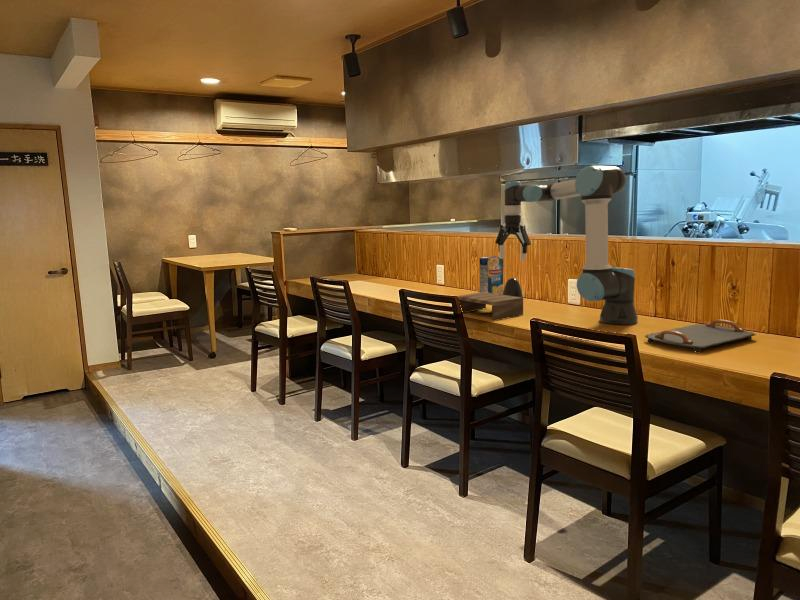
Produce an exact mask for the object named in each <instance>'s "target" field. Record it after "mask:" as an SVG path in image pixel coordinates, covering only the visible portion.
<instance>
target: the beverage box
mask: <svg viewBox="0 0 800 600" xmlns="http://www.w3.org/2000/svg"><path fill="white" fill-rule="evenodd" d="M503 291H504V259H499V256H486V257H485V256H483V257H479V292H487V293H494V294H501V295H503Z"/></svg>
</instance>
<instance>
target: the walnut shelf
mask: <svg viewBox="0 0 800 600" xmlns="http://www.w3.org/2000/svg"><path fill="white" fill-rule="evenodd" d="M456 296H457V297H458V298H459V302H460V305H461V308H462V311H463V313H468V312H467V311H469V312H473V311H472V310H475V311H478V310H477V309H480V310H484V309H483V308H486V309H487V305H488V306H491V320H492V319H493V320H492V321H498V320H497V319H500V320H503V319H502V318H505V319H508V318H507V317H510V318H514V317H513V316H515V317H519V316H518V315H520V316H523V315H524V297H523V298H522V297H515V296H508V295H501V294H494V293H487V292H480V291H479V292H474V293H467V294H461V295H460V294H459V295H456Z"/></svg>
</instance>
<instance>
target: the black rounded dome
mask: <svg viewBox="0 0 800 600" xmlns="http://www.w3.org/2000/svg"><path fill="white" fill-rule="evenodd" d="M503 295H508V296H515V297H522V298H523V299H524V294H523V290H522V287H521V284H520V282H519V280H518V279H517V278H515V277H510V278H508V279H507V281H506V282H505V285H504V286H503Z"/></svg>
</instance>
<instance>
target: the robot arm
mask: <svg viewBox="0 0 800 600" xmlns="http://www.w3.org/2000/svg"><path fill="white" fill-rule="evenodd" d="M626 179H627V177H626V174H625V172H624V170H623V169H621V168H619V166H616V165H615V166H614V165H589V166H584V167H583V168H581V169H580V171H579V172H578V173H577V175H576V177H575V179H570V180H566V181H560V182H555V183H550V184H525V185H524V184H523V185H522V183H521V181H520V180H519V181H515V180H514V181H513V180H512V181H505V182H504V223H505V224H500V225H499V231H498V234H497V237H496V239H495V242H494V243H495V244H497V246H498V252H499V255H498V257H499V259H503V260H504V259H505V256H506V255H505V250H506V249H505V242H506V240H507V239H508V238H509V236H510V235H514V236H516V238H517V240H518V241H519V243H520V244H521V246H520V261H521V262H522V261H526V260H527V256H526V255H527V252H528V246H530V245H531V241H530V238H529V236H528V233H527V230H526V225H525V224H520V223H522V221H521V219H522V218H521V217H522V216H521V213H522V210H521V209H522V207H521V205H522V202H523V203H525V202H527V203H531V202H532V203H535V202H555V201H558V200H562V199H569V198H574V197H580V198H581V199H580V201H581V202H582V203H583V204H584V207H585V209H584V210H585V211H584V212H585V217H584V218H585V260H586V261H585V265H583V267H582V271H581V272H582V273H581V275H579V277H578V278H577V279H576V290H577V293H578V294H579V295H580V296H581V297H582V298H583V300H585V301H588V302H600V301H603V300H604V303H603V306H602V309H601V312H600V315H599V322H601V323H604V324H610V325H618V324H623V326H625V325H635V324H637V323H638V322H639V321H638V320H639V319H638V318H639V317H638V313H637V311H636V307H635V283H636V282H635V281H636V277H635V270H634V269H632V268H626V267H616V266H615V267H614V266H612V265H610V263H609V220H608V219H609V218H608V217H609V212H608V204H609V202H611V201H612V195H616V194H618V193H620V192H621V191H622V190H623V189H624V188H625V186H626V182H627V180H626Z"/></svg>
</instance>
